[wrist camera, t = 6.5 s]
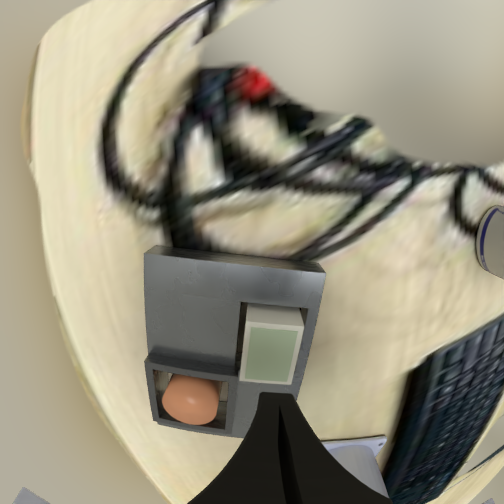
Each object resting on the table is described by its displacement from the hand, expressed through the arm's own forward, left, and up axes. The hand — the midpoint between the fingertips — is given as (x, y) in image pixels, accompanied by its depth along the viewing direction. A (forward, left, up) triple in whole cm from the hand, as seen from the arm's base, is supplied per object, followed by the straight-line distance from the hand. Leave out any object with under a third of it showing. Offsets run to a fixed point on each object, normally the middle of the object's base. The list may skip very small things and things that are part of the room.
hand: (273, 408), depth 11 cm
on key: (0, 0, -7) cm, 7 cm away
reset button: (-5, +5, -7) cm, 10 cm away
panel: (-2, +3, -8) cm, 8 cm away
